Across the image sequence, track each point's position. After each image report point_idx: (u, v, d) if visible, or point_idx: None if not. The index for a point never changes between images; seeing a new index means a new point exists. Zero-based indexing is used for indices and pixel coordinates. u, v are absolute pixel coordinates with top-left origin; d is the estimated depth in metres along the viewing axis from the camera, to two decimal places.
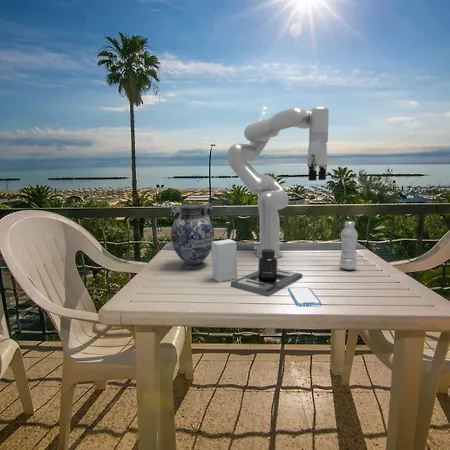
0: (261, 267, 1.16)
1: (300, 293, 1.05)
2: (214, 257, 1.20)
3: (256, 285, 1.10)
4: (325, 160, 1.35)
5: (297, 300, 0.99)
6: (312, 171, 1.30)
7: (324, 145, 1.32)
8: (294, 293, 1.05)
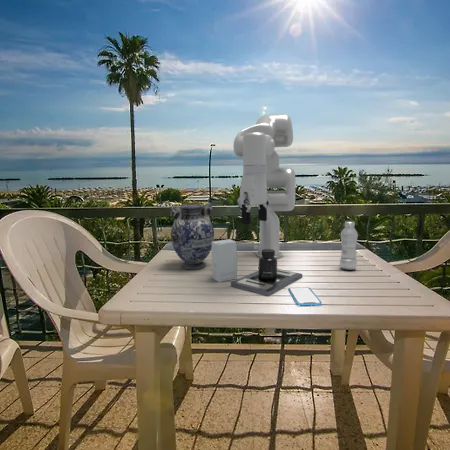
0: (261, 267, 1.16)
1: (300, 293, 1.05)
2: (214, 257, 1.20)
3: (256, 285, 1.10)
4: (264, 197, 1.08)
5: (297, 300, 0.99)
6: (245, 213, 1.04)
7: (261, 180, 1.05)
8: (294, 293, 1.05)
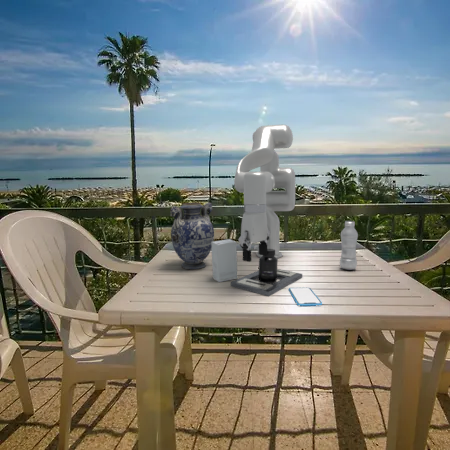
0: (261, 266, 1.16)
1: (301, 293, 1.05)
2: (214, 257, 1.20)
3: (256, 285, 1.10)
4: (264, 234, 1.10)
5: (298, 300, 0.99)
6: (246, 251, 1.06)
7: (261, 218, 1.08)
8: (295, 293, 1.05)
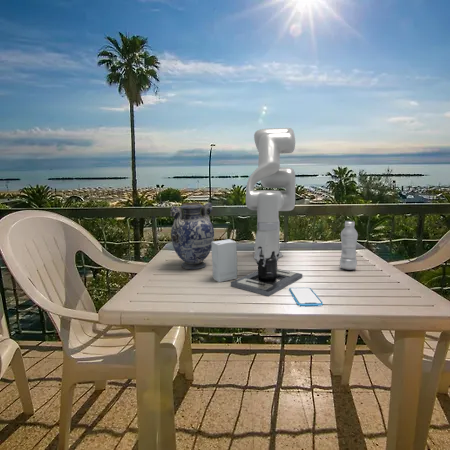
0: None
1: (301, 293, 1.05)
2: (214, 257, 1.20)
3: (256, 285, 1.10)
4: (276, 249, 1.17)
5: (298, 300, 0.99)
6: (261, 267, 1.14)
7: (274, 234, 1.15)
8: (295, 293, 1.05)
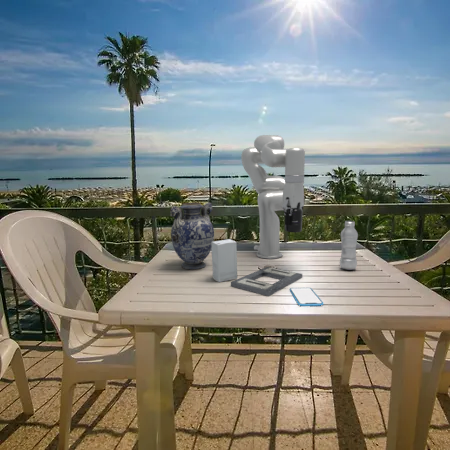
0: None
1: (302, 293, 1.05)
2: (214, 257, 1.20)
3: (256, 285, 1.10)
4: (301, 201, 1.30)
5: (299, 300, 0.99)
6: (288, 216, 1.26)
7: (300, 187, 1.27)
8: (296, 293, 1.05)
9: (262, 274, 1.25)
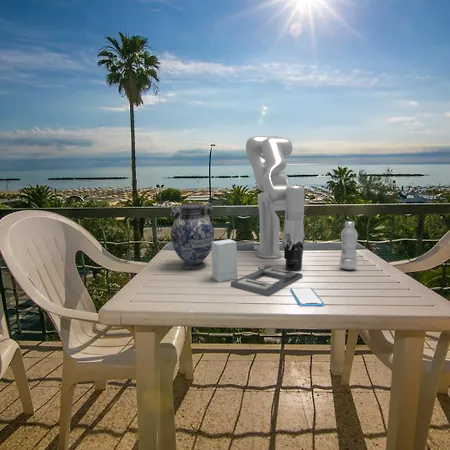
0: None
1: (302, 293, 1.05)
2: (214, 257, 1.20)
3: (256, 285, 1.10)
4: (301, 237, 1.32)
5: (300, 300, 0.99)
6: (287, 251, 1.28)
7: (300, 223, 1.30)
8: (296, 293, 1.05)
9: (262, 274, 1.25)
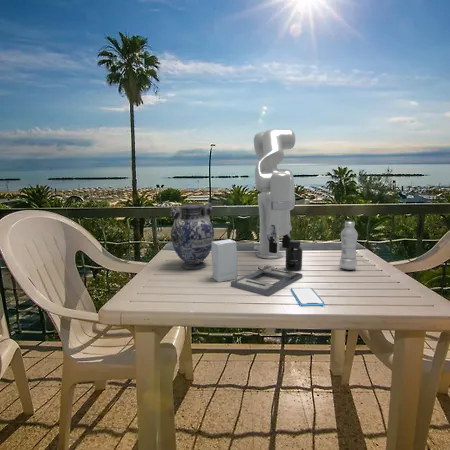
0: (288, 255, 1.31)
1: (303, 293, 1.05)
2: (214, 257, 1.20)
3: (256, 285, 1.10)
4: (288, 229, 1.23)
5: (300, 300, 0.99)
6: (272, 243, 1.18)
7: (286, 214, 1.20)
8: (297, 293, 1.05)
9: (262, 274, 1.25)
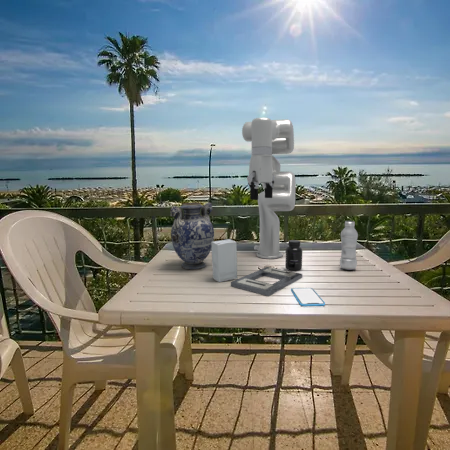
0: (288, 255, 1.31)
1: (303, 293, 1.05)
2: (214, 257, 1.20)
3: (256, 285, 1.10)
4: (270, 176, 1.21)
5: (301, 300, 0.99)
6: (253, 189, 1.16)
7: (267, 160, 1.18)
8: (297, 293, 1.05)
9: (262, 274, 1.25)
